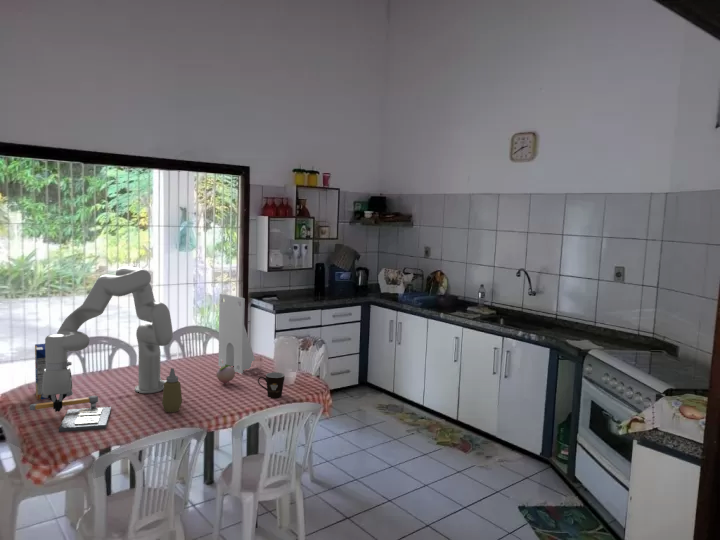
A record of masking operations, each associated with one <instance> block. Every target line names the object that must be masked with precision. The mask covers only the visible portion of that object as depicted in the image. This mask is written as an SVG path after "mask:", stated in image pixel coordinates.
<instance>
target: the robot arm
mask: <svg viewBox="0 0 720 540" xmlns="http://www.w3.org/2000/svg"><path fill="white" fill-rule="evenodd" d="M151 279H152V275H151V273H150V272H149V271H148V270H147V269H145V268H140V267H133V266H121V267H118V268H117V270H116V272H115V274H114V275H113V274H103V275H101V276H99V277H98V278H97V279H96V281H95V283H93V286H92V287H91V289H90V291H89V293H88V294H87V296H86V298H85V299H84V301H83V302H82V304H81V305H80V306H78V307H77V308H76V309H75V310H73V311H72V312H71V313H70V314H69V315H68V316H66V318H65V319H64V320H63V322H62V324H61V325H60V327H59V328H58V330H57V332H56V333H52V334H48V335H46V336H45V339H44V344H45V354H46V369H44V374H43V384H42V392H43V394H42V397H44V398H49V400H51V402H53V407H52V409H53V410H54V412H55V413H57V412H61V409H63V406H62V401H63V400H64V399H65V398H67V397H70V396H73V393H74V392H73V379H72V371H71V368H70V366H72V364H73V363H72V361H69V360H68V352H77V351H83V350H84V349H86V348H88V346H89V344H90V342H91V341H90V337H89V335H88V334H86V333H85V332H83V331H82V332H81V331H78V330H79V329H80V328H81V326H82V325H83V324H85V323H86V322H87V321H89V320H91V319H93V318H96V317H97V318H98V317H99V316H101V315H102V314H103V313H104V312H105V310H106V308H107V306H108V305H109V303H110V301H111V300H112V298H113V297H118V298H119V297H124V296H127V295H131V294H132V298H133V301H134V302H133V304H134V309H135V312H136V313H135V314H136V317H137V318H138V319H139V320H140V321H144V322H142V323H140V324H139V325H138V327H137V328H136V334H135V336H136V342H137V348H138V349H137V350H138V385H136V386H134V391H135V392H136V393H138V392H139V394H154V393H158V392H162V391H163V390H164V383H165V382H167V381H166V380H163V379H162V377H161V352H162V351H161V348H160V347H165V346H168V345H169V344H170V343H171V342H172V340H173V332H174V331H173V325H172V319H171V312H170V309H169V308H168V306H167V305H166V304H165V303H164V302H160V301H156V300H155V296H154V292H153V288H152V285H151ZM57 395H59V397H58V398H57Z"/></svg>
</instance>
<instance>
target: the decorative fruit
mask: <svg viewBox="0 0 720 540" xmlns="http://www.w3.org/2000/svg"><path fill="white" fill-rule="evenodd" d="M235 375H236V373H235V371H234V367H231V366H230V365H226V364H225V366H223V367H221V368H220V367H219V368H218V369H217V371H216V378H217V379H218V381H219V382H220V383H221V384H224V385H226V384H227V383H230V382H231V381H232V380H234V378H235ZM225 383H226V384H225Z"/></svg>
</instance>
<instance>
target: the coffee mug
mask: <svg viewBox="0 0 720 540" xmlns="http://www.w3.org/2000/svg"><path fill="white" fill-rule="evenodd" d="M285 375H286V374H285V373H282V372H277V371H276V372H275V371H273V372H268V373H266V374H265V377H264V376H261V377H258V378H257V383H258V385H259V386H260V387H262V388H263V389H264V390H266V391H267V392H266V393H267V397H268V398H269V397H271V398H270V399H280V398H282V394H283V388H284V381H285ZM260 379H263V380H264V381H265V382H266V387H265V386H263V385H262V384H261V383H260ZM279 397H280V398H279Z"/></svg>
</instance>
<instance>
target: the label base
mask: <svg viewBox="0 0 720 540" xmlns="http://www.w3.org/2000/svg"><path fill="white" fill-rule="evenodd" d="M111 412H112V406H104V407H97V402H96V403H90V407H89V408H86V407H85V408H72V409H67V411H66V413H65V415H64V417H63V420H62V421H61V423H60V425H59V427H58V433H65V432H76V431H77V432H78V431H89V430H90V431H91V430H103V429H104V430H105V429H107V425H108V423H109V419H110V417H111V416H110V415H111Z"/></svg>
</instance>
